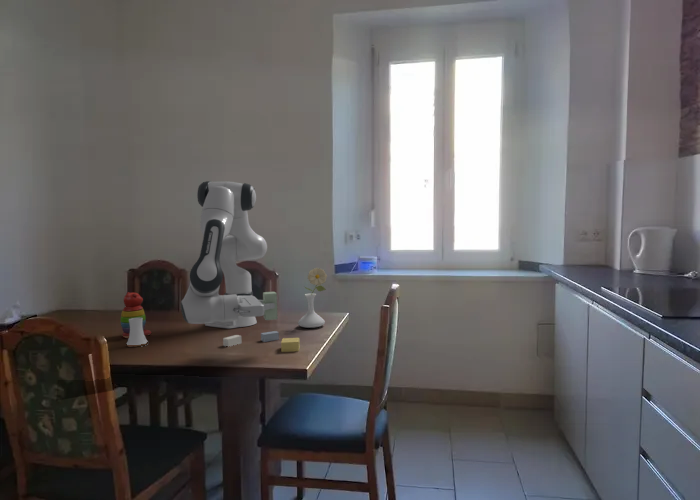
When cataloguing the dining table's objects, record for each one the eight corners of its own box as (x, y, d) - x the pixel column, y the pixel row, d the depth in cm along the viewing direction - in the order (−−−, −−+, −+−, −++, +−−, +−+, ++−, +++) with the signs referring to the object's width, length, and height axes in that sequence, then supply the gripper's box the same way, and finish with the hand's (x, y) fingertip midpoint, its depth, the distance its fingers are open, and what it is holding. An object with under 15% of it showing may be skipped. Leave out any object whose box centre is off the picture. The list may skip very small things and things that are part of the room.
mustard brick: (281, 352, 170) (281, 342, 169) (282, 347, 176) (282, 338, 175) (298, 351, 170) (298, 341, 170) (299, 347, 176) (299, 337, 176)
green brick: (266, 320, 167) (265, 294, 167) (263, 318, 171) (262, 292, 170) (277, 319, 169) (276, 293, 168) (275, 316, 172) (274, 291, 172)
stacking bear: (153, 335, 200) (151, 291, 199) (128, 340, 192) (125, 295, 191) (141, 331, 207) (138, 289, 206) (116, 336, 200) (114, 292, 198)
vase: (149, 345, 183) (147, 319, 183) (127, 348, 180) (125, 321, 179) (146, 341, 190) (145, 315, 189) (125, 344, 186) (123, 318, 185)
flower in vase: (295, 329, 202) (292, 269, 200) (301, 323, 213) (299, 266, 211) (326, 330, 200) (324, 269, 198) (331, 323, 211) (329, 266, 210)
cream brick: (228, 347, 178) (228, 339, 178) (223, 346, 180) (223, 338, 180) (241, 343, 183) (241, 335, 183) (236, 342, 185) (236, 334, 184)
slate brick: (264, 342, 184) (263, 334, 183) (261, 341, 186) (260, 333, 186) (278, 340, 187) (278, 332, 187) (275, 338, 189) (275, 330, 189)
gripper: (235, 303, 155) (278, 299, 160) (228, 293, 174) (266, 290, 179) (236, 323, 155) (279, 318, 160) (228, 311, 175) (267, 307, 179)
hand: (272, 304), depth 170 cm, fingers closed on green brick, 4 cm apart
